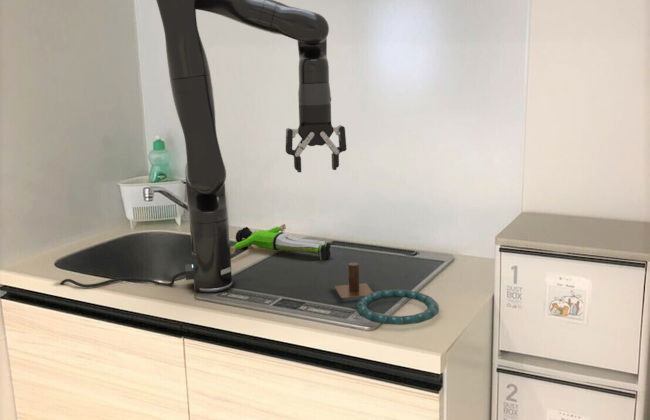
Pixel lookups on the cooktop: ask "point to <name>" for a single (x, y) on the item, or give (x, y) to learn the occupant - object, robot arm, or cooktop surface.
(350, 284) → the ring toss
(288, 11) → the robot arm
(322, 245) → the figurine
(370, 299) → the ring
